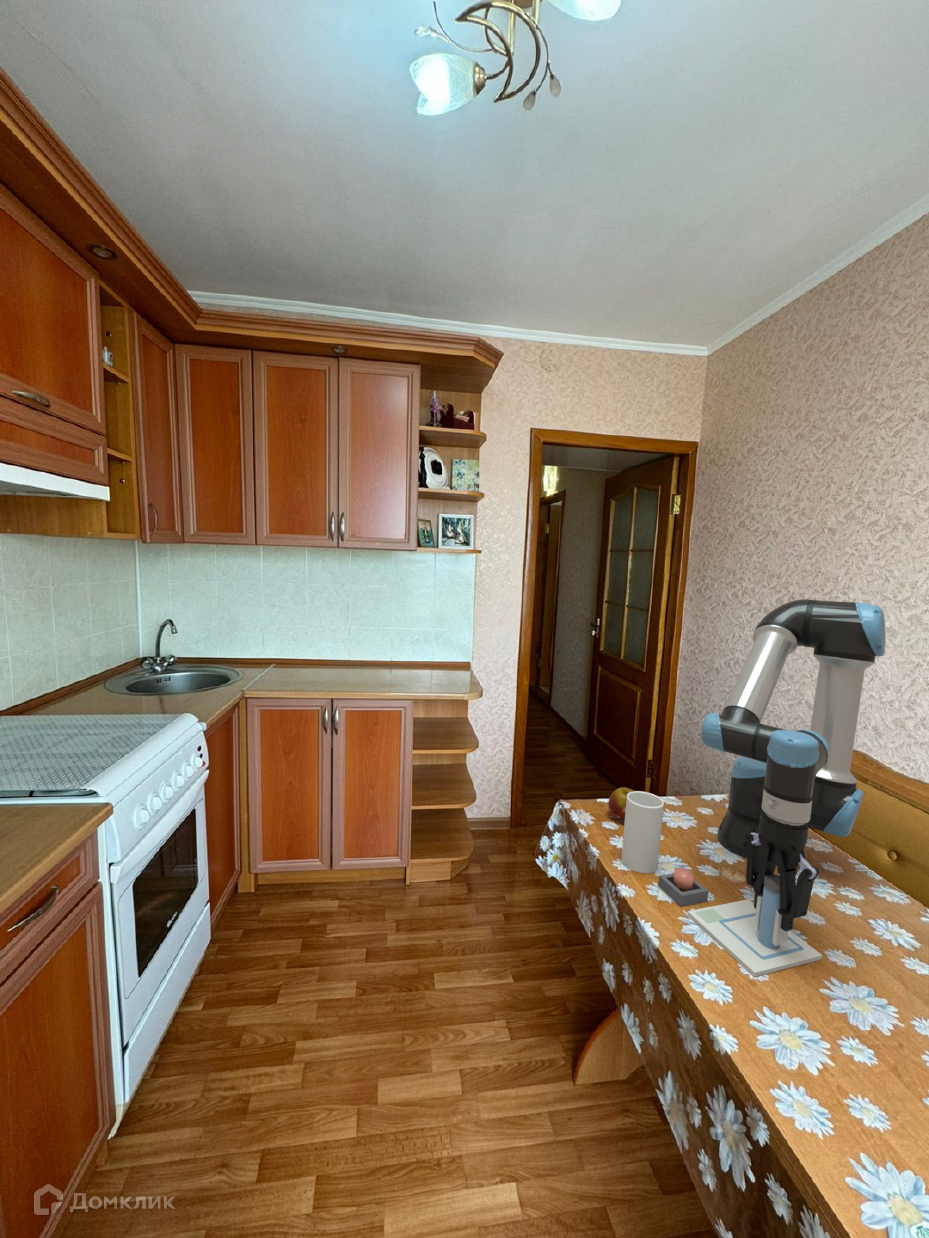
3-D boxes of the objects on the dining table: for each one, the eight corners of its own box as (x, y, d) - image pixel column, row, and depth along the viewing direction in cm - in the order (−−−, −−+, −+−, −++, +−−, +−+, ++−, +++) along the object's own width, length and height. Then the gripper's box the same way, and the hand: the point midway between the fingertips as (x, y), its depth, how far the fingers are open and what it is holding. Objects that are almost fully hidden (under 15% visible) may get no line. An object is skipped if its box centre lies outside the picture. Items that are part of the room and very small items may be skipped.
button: (684, 876, 111) (685, 866, 111) (697, 888, 107) (698, 877, 107) (669, 879, 110) (670, 868, 109) (682, 890, 106) (683, 879, 106)
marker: (766, 932, 97) (774, 871, 95) (785, 947, 93) (793, 883, 92) (752, 937, 95) (759, 875, 94) (770, 951, 92) (778, 887, 90)
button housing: (683, 881, 113) (684, 871, 113) (707, 901, 106) (708, 890, 106) (657, 885, 111) (658, 875, 111) (680, 906, 104) (681, 895, 104)
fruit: (636, 830, 135) (638, 801, 134) (602, 819, 140) (605, 792, 139) (644, 816, 143) (647, 789, 142) (613, 806, 148) (615, 780, 147)
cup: (660, 876, 115) (667, 809, 113) (623, 870, 116) (629, 804, 115) (654, 856, 123) (660, 793, 121) (619, 850, 124) (625, 789, 123)
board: (748, 902, 107) (748, 898, 107) (821, 959, 92) (822, 954, 91) (687, 914, 102) (687, 910, 102) (754, 976, 87) (754, 972, 87)
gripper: (732, 798, 98) (719, 909, 101) (812, 842, 83) (795, 973, 85) (761, 794, 101) (748, 904, 103) (844, 837, 85) (827, 964, 88)
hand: (770, 935), depth 94 cm, fingers closed on marker, 3 cm apart
